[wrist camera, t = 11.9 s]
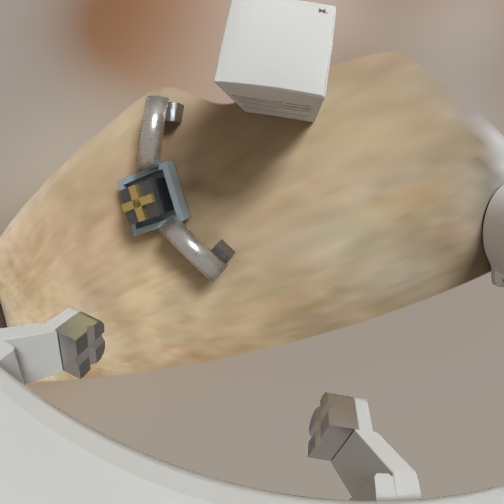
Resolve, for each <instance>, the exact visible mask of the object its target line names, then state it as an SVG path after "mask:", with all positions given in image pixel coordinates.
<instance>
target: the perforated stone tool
mask: <svg viewBox="0 0 504 504" xmlns="http://www.w3.org/2000/svg"><path fill="white" fill-rule="evenodd" d="M0 328H7V327H6V323H5V319H4V315H3V312H2V308H1V305H0Z"/></svg>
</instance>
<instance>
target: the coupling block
mask: <svg viewBox="0 0 504 504" xmlns="http://www.w3.org/2000/svg"><path fill="white" fill-rule="evenodd" d="M120 194H121V197H122V201H123V204H122V205H121V207H122V210H123V213H124V212H126V214H127V217H128V220H129V223H130V225H132V224H135V223H138V222H141V221H144V220H147V219H150V218H153V217H156V216H159V215H162V214H165V213H167V212H170V211H172V210H175V209H174V206H173V203H172V199H171V196H170V193H169V189H168V186H167V183H166V179H165V177H160V178H152V179H148V180H145V181H143V182H140V183H138V184H135V185H132V186H130V187H128V188H125V189H123V190H120Z"/></svg>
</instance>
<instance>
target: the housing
mask: <svg viewBox="0 0 504 504" xmlns="http://www.w3.org/2000/svg"><path fill="white" fill-rule="evenodd" d="M160 177H165V179H166V183H167V186H168V189H169V193H170V196H171V199H172V203H173V206H174V209H175V210H172V211H170V212H167V213H165V214H162V215H159V216H156V217H153V218H150V219H147V220H144V221H141V222H138V223H135V224H132V225H130V226H131V229H132V232H133V235H134V236H137V235H140V234H143V233H146V232H149V231H152V230H155V229H158V228H160V227H161V226H162V225H163V223H164V222H165V221H166V220H167V219H168V218H170V217H171V216H172V215H175V216H176V217H177V218H178V219H179V220H180V221H184V220H186V219H188V218H190V214H189V211H188V207H187V204H186V201H185V198H184V194H183V191H182V188H181V184H180V181H179V178H178V174H177V171H176V168H175V164H174V161H165V162H162V163H160V164H159V170H142V171H140V172H137V173H135V174H133V175H130V176H128V177H126V178H123V179H121V180H119V181H117V184H118V187H119V191H120V190H123V189H125V188H128V187H130V186H132V185H135V184H138V183H140V182H143V181H145V180H148V179H152V178H160ZM121 198H122V197H121Z"/></svg>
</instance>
